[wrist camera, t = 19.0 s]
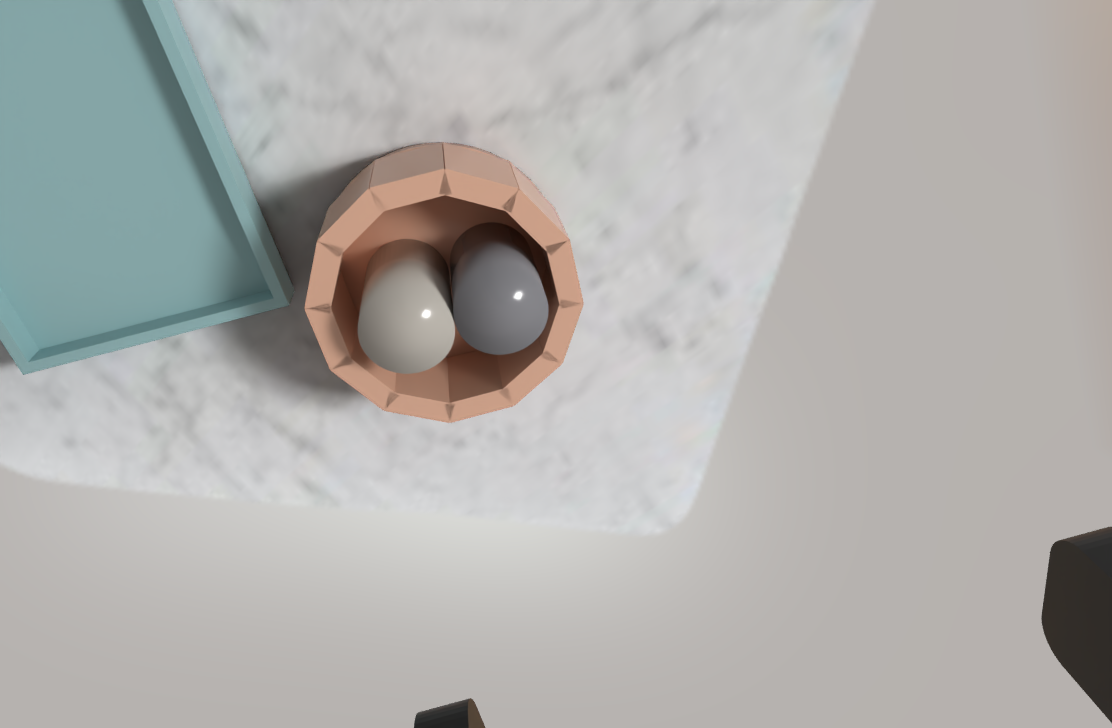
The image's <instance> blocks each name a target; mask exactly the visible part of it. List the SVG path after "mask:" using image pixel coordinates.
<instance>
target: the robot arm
mask: <svg viewBox="0 0 1112 728" xmlns="http://www.w3.org/2000/svg"><path fill="white" fill-rule="evenodd" d="M1042 625H1043V630H1044V634H1045V636H1046V639H1047V641H1048V644H1049V646H1050V648H1051V650H1052V651H1053V653H1054V655H1055V656H1056V658H1057V659H1058V661H1059V662H1060V663H1061V665H1062V666H1063V667H1064V668H1065V669H1066V670H1067V672H1068V673H1069V674H1070V675H1071V676H1072V677H1073V678H1074V680H1075V681H1076V682H1077V683H1078V684H1079V685H1080V687H1081V688H1082V689H1083V690H1084V691H1085V692H1086V694H1087V695H1088V696H1089V697H1090V698H1091V699H1092V701H1093V702H1094V703H1095V704H1096V705H1097V706H1098V707H1099V709H1100V710H1101V711H1102V712H1103V713H1104V714H1105V716H1106V717H1107V718H1108V719H1109V720H1110V721H1111V722H1112V527H1107V528H1103V529H1099V530H1096V531H1092V532H1088V533H1085V534H1081V535H1077V536H1074V537H1070V538H1067V539H1063V540H1059V541H1057V542H1055V543H1054V544H1053V546H1052V548H1051V551H1050V559H1049V565H1048V573H1047V580H1046V588H1045V595H1044V602H1043V610H1042ZM414 728H485V726H484V723H483V721H482V719H481V716H480V714H479V711H478V709H477V707H476V704H475V702H474V701H473V700H472V699H471V698H470V699H466V700H463V701H459V702H455V703H451V704H448V705H444V706H440V707H437V708H433V709H429V710H426V711H422V712H419V713H417V715H416V718H415V723H414Z"/></svg>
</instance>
